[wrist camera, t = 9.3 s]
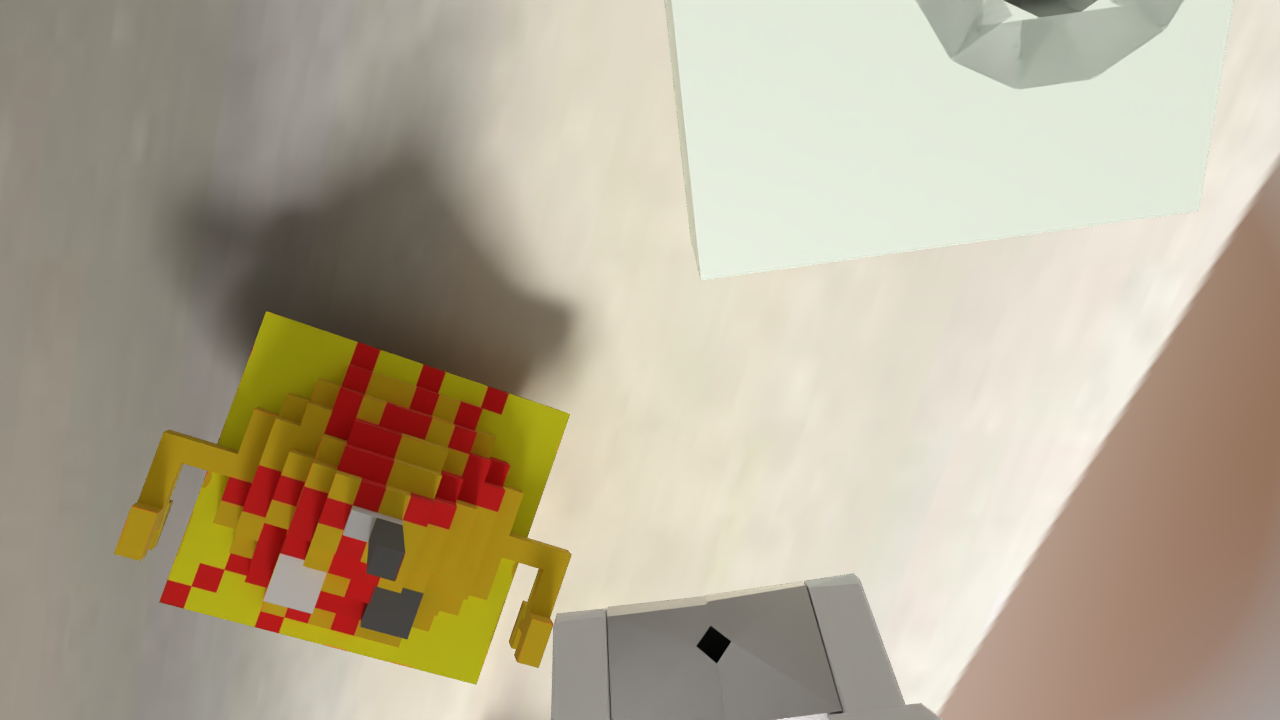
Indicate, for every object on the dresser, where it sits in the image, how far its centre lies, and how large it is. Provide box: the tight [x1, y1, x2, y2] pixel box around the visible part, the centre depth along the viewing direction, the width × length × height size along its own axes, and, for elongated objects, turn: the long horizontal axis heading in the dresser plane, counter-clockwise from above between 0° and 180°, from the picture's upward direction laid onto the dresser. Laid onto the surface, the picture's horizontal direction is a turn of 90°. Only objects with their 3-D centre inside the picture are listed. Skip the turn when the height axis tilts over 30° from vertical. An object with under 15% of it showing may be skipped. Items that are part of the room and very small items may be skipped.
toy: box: [114, 311, 571, 684], centre depth 32 cm, size 14×10×15 cm
